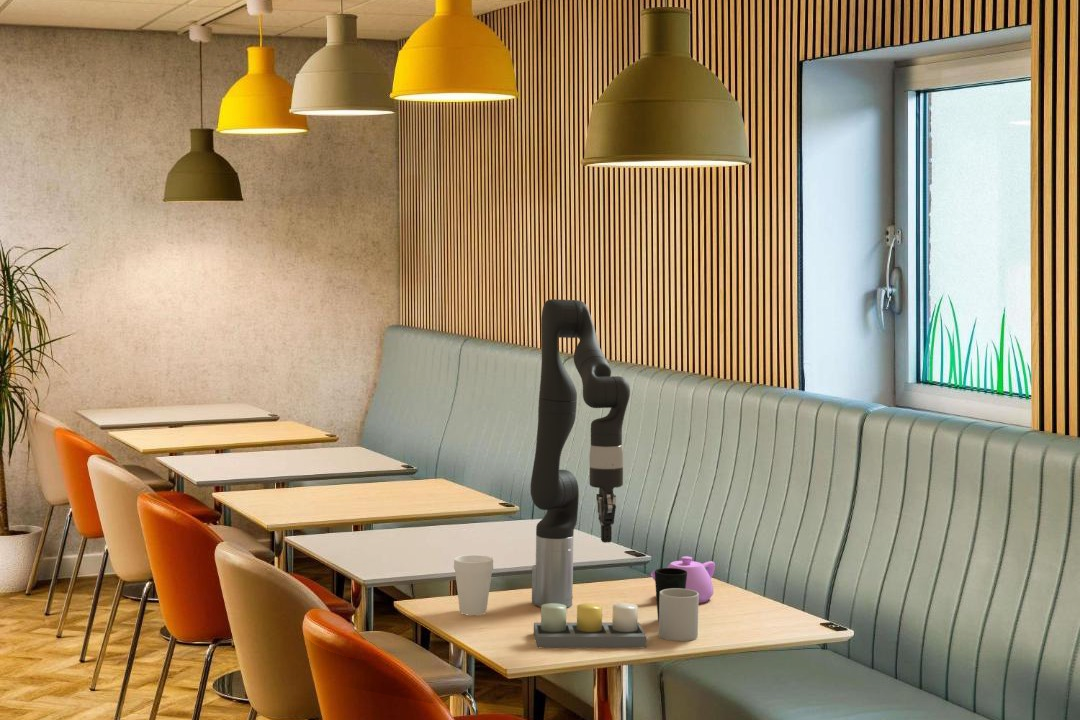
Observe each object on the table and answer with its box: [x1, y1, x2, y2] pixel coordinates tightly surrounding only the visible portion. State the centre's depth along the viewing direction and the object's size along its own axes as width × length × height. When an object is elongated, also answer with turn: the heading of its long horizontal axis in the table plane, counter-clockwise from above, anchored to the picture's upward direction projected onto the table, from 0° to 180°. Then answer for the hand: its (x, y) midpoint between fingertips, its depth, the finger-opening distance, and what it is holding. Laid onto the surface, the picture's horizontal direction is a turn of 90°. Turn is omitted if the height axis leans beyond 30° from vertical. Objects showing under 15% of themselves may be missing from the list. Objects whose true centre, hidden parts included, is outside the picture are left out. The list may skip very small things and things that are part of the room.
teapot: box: [650, 555, 716, 604], centre depth 346 cm, size 14×20×11 cm
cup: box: [654, 567, 687, 623], centre depth 323 cm, size 8×8×12 cm
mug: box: [658, 588, 700, 642], centre depth 311 cm, size 11×10×10 cm
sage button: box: [540, 603, 567, 632], centre depth 305 cm, size 6×6×5 cm
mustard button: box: [576, 602, 603, 632], centre depth 305 cm, size 6×6×5 cm
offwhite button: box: [612, 602, 639, 632], centre depth 306 cm, size 6×6×5 cm
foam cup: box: [453, 554, 494, 616], centre depth 329 cm, size 10×9×13 cm
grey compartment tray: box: [533, 621, 647, 649], centre depth 305 cm, size 24×12×2 cm, turn 94°
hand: (606, 541), depth 308 cm, fingers closed
